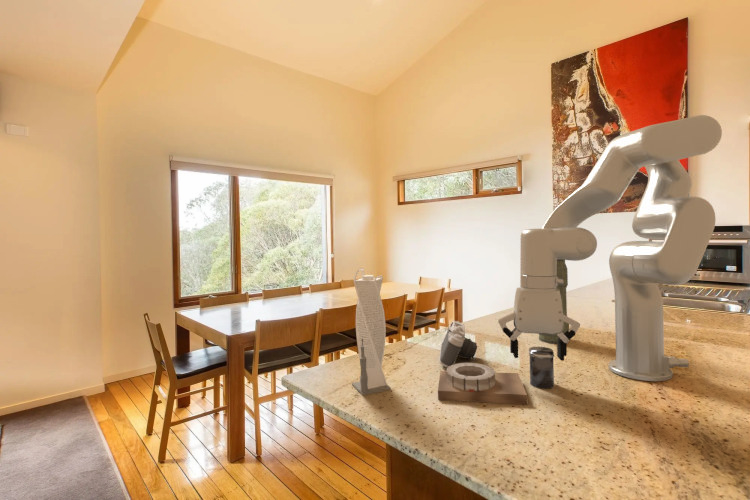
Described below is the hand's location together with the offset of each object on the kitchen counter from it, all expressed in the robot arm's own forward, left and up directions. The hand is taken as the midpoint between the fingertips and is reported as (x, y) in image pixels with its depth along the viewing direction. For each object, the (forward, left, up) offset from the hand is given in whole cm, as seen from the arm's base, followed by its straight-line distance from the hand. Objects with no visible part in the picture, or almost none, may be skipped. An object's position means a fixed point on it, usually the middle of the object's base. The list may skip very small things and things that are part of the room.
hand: (537, 357), depth 86 cm
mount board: (+13, +5, -6) cm, 15 cm away
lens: (-1, 0, -6) cm, 6 cm away
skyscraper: (+38, +5, -7) cm, 39 cm away
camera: (+18, -16, -7) cm, 25 cm away
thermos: (-12, -37, -7) cm, 40 cm away
